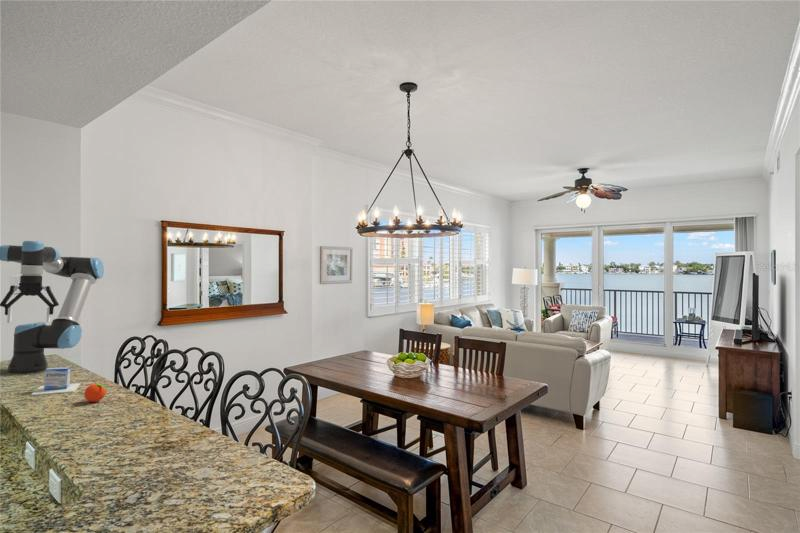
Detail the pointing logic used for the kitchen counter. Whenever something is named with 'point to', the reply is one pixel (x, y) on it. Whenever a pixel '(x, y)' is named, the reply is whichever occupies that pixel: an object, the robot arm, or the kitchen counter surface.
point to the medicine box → (57, 378)
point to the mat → (70, 389)
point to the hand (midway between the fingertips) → (29, 322)
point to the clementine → (95, 392)
